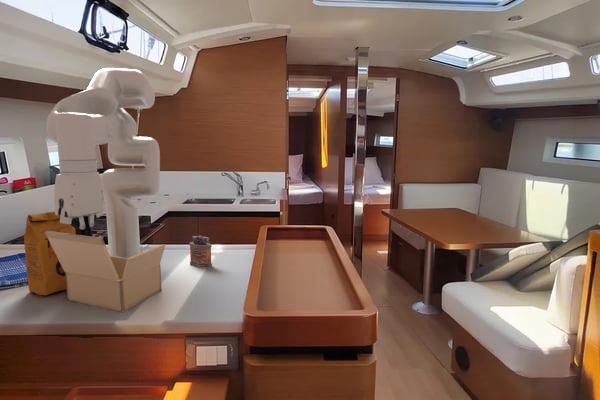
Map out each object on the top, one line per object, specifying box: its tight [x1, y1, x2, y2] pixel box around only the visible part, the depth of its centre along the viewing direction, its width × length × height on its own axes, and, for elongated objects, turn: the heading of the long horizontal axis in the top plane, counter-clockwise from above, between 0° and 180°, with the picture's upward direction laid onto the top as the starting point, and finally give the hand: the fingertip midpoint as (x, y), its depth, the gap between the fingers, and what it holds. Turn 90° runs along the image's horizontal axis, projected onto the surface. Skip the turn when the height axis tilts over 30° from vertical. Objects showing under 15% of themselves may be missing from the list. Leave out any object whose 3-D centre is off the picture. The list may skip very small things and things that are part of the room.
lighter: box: [188, 235, 213, 268], centre depth 126 cm, size 8×3×10 cm, turn 68°
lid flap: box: [45, 231, 120, 281], centre depth 91 cm, size 12×17×1 cm
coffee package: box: [23, 210, 76, 296], centre depth 104 cm, size 10×12×22 cm
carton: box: [65, 235, 166, 313], centre depth 100 cm, size 14×22×14 cm, turn 71°
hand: (84, 243), depth 91 cm, fingers closed
